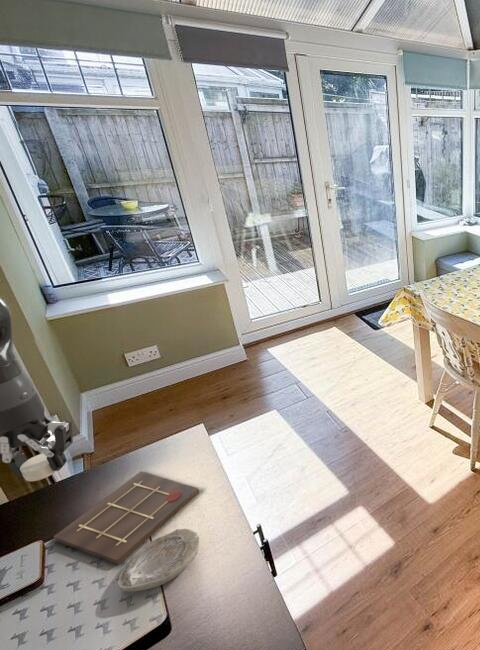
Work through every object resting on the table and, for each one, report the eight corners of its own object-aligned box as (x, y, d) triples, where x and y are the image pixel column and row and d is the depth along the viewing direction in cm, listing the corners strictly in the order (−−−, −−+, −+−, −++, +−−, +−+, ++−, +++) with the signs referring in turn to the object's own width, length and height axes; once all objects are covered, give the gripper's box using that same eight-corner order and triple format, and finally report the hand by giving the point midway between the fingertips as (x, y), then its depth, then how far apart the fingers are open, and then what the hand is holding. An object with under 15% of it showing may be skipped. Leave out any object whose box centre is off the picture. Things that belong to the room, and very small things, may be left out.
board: (55, 541, 78) (52, 536, 78) (142, 474, 93) (141, 470, 92) (119, 564, 75) (116, 559, 74) (199, 492, 89) (198, 487, 89)
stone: (18, 477, 78) (12, 468, 77) (49, 458, 82) (45, 449, 81) (36, 484, 77) (30, 474, 76) (67, 464, 81) (62, 455, 80)
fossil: (129, 561, 76) (123, 551, 75) (204, 529, 82) (200, 519, 81) (117, 613, 68) (110, 602, 67) (201, 573, 73) (196, 562, 72)
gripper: (69, 380, 78) (99, 449, 84) (-30, 390, 74) (10, 461, 81) (39, 406, 71) (75, 479, 78) (-71, 418, 67) (-23, 493, 74)
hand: (42, 469), depth 79 cm, fingers closed on stone, 4 cm apart
